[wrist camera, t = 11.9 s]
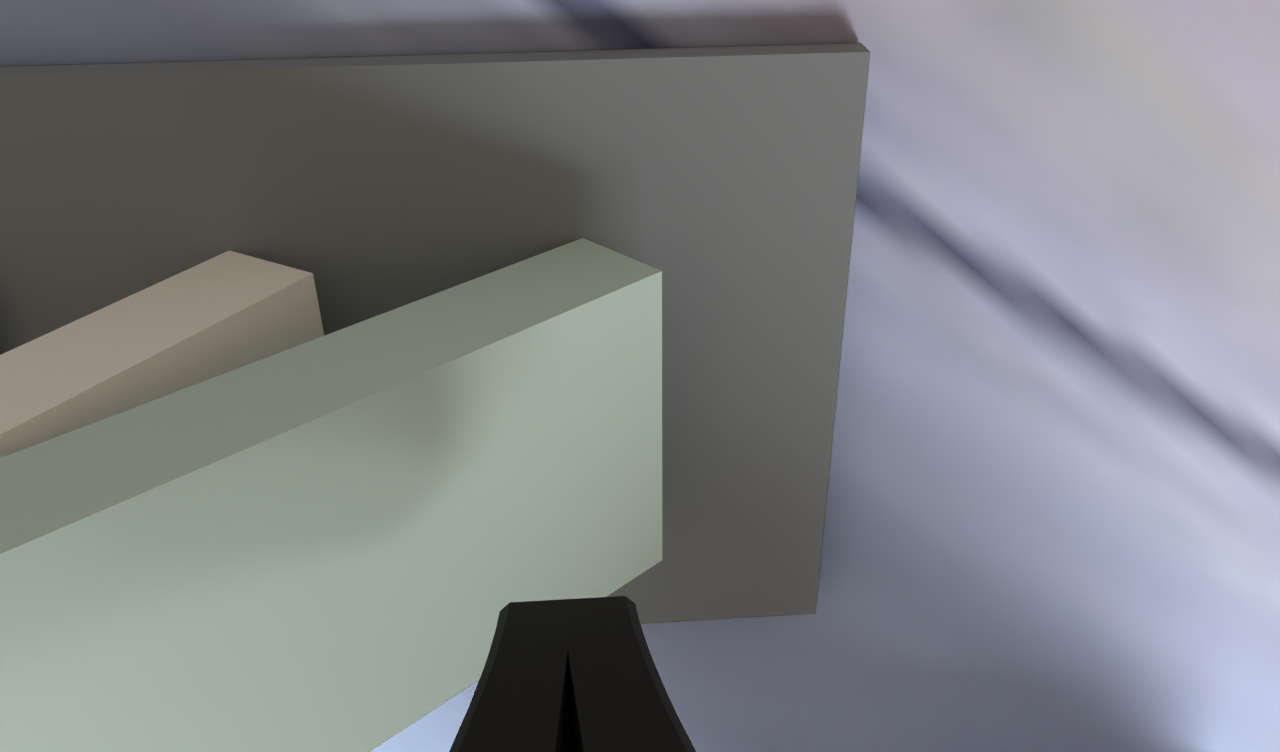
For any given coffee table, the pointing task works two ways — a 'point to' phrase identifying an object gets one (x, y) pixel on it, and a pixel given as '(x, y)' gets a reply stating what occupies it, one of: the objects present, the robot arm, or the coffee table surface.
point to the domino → (154, 345)
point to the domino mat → (496, 234)
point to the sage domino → (335, 520)
